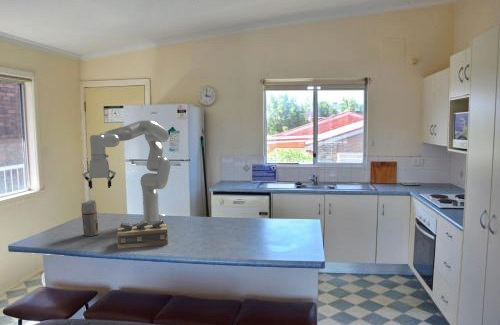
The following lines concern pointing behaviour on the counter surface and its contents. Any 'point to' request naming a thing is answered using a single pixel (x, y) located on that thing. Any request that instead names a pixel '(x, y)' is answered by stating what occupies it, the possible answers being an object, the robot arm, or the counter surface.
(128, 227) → the rocker left
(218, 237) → the counter surface
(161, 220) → the rocker right
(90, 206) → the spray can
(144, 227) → the switch unit
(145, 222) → the rocker middle
